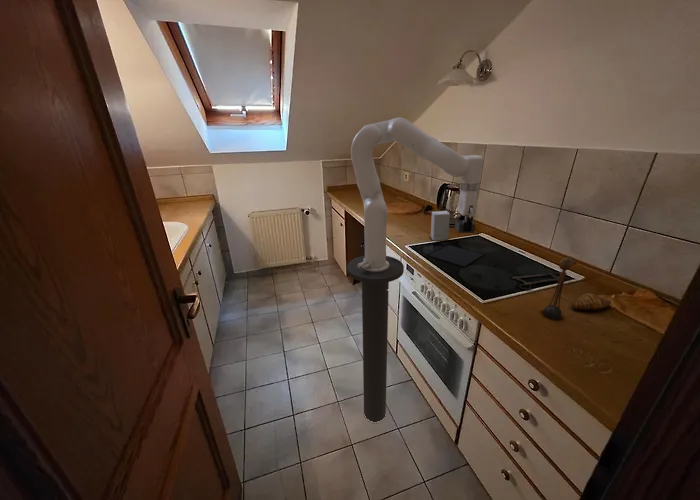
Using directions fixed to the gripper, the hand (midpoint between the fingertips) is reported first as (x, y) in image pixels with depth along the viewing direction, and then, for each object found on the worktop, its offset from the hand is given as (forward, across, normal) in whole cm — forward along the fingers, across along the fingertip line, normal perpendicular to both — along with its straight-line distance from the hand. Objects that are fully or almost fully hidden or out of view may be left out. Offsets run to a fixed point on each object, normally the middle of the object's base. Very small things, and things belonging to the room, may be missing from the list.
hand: (464, 228), depth 128 cm
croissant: (+16, +37, +32) cm, 51 cm away
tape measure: (+1, 0, 0) cm, 1 cm away
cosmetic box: (+16, -29, -4) cm, 33 cm away
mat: (+15, -6, 0) cm, 17 cm away
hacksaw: (+16, +20, +26) cm, 36 cm away
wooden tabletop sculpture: (+16, +42, +18) cm, 48 cm away
